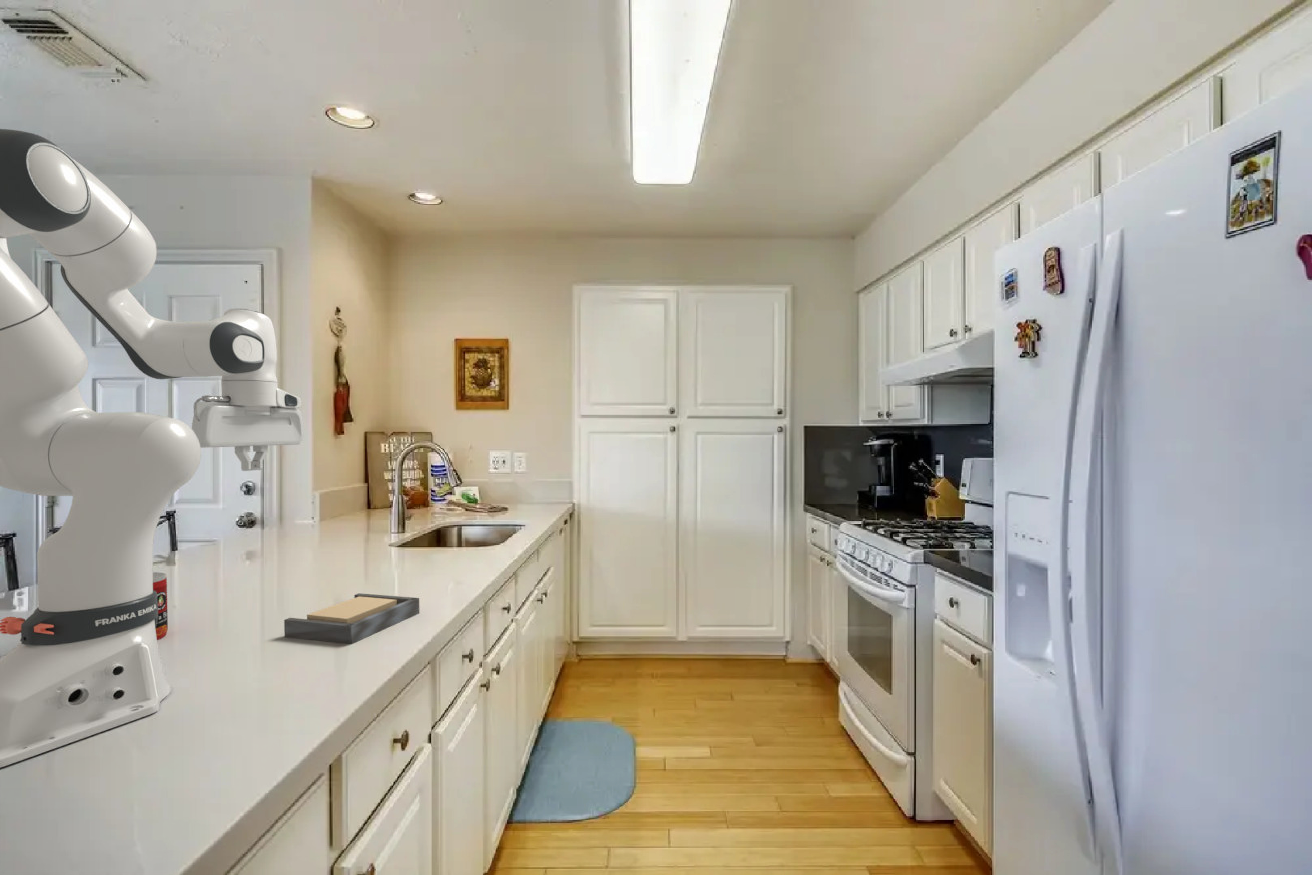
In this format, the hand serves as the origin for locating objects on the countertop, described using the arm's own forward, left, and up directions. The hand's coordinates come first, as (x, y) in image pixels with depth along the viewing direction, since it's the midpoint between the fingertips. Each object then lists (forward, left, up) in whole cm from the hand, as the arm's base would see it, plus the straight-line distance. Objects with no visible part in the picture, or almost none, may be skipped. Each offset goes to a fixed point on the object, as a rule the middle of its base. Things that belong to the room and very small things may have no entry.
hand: (252, 470), depth 112 cm
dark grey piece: (+4, -19, -29) cm, 35 cm away
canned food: (-12, +12, -29) cm, 34 cm away
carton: (+3, -20, -30) cm, 36 cm away
